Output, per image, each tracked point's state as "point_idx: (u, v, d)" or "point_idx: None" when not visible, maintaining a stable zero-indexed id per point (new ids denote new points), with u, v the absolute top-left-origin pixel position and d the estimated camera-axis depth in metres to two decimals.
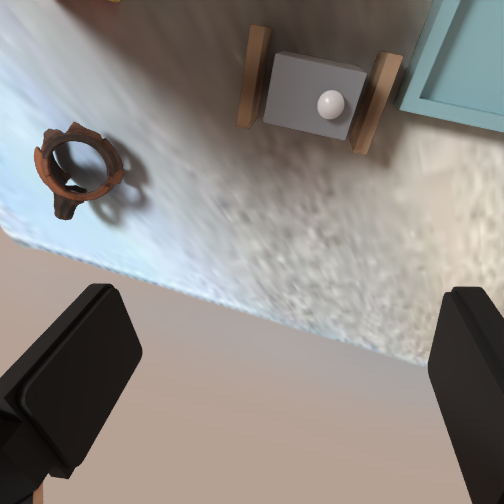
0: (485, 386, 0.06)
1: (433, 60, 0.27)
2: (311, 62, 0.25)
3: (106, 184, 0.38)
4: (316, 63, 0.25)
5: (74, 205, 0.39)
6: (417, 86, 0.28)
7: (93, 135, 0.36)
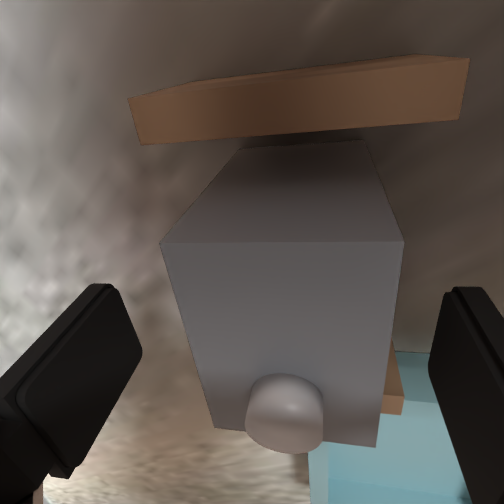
0: (485, 386, 0.06)
1: None
2: (386, 346, 0.08)
3: None
4: (385, 358, 0.08)
5: None
6: None
7: None
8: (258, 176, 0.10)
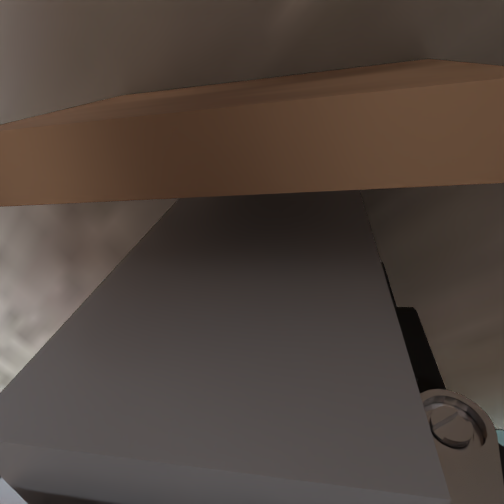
0: None
1: None
2: None
3: None
4: None
5: None
6: None
7: None
8: (199, 245, 0.07)
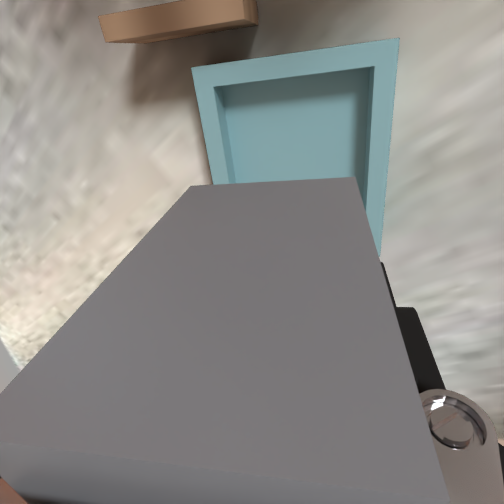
0: None
1: (258, 78, 0.20)
2: None
3: None
4: None
5: None
6: (225, 75, 0.20)
7: None
8: (199, 245, 0.07)
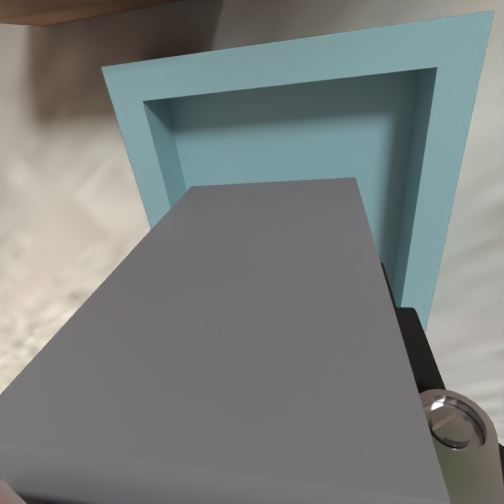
0: None
1: (220, 88, 0.11)
2: None
3: None
4: None
5: None
6: (161, 82, 0.11)
7: None
8: (199, 246, 0.07)
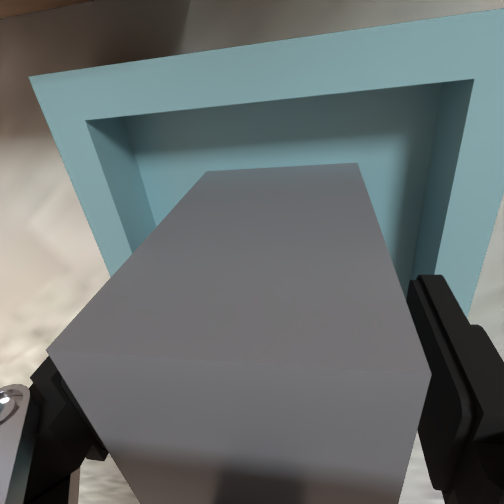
0: (436, 362, 0.07)
1: (183, 105, 0.08)
2: (395, 492, 0.05)
3: None
4: (393, 503, 0.05)
5: None
6: (106, 96, 0.09)
7: None
8: (221, 218, 0.08)
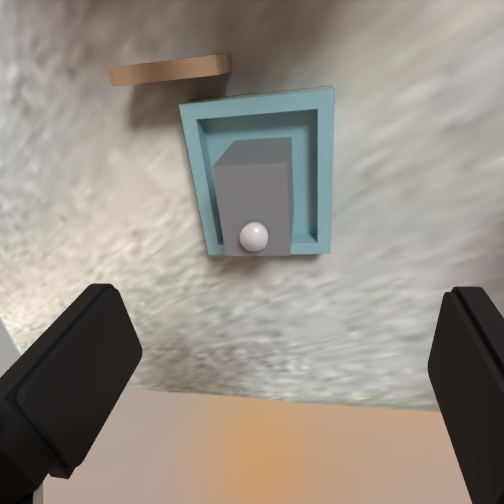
0: (485, 386, 0.06)
1: (231, 114, 0.26)
2: (287, 203, 0.23)
3: None
4: (287, 208, 0.23)
5: None
6: (205, 111, 0.26)
7: None
8: (244, 150, 0.25)
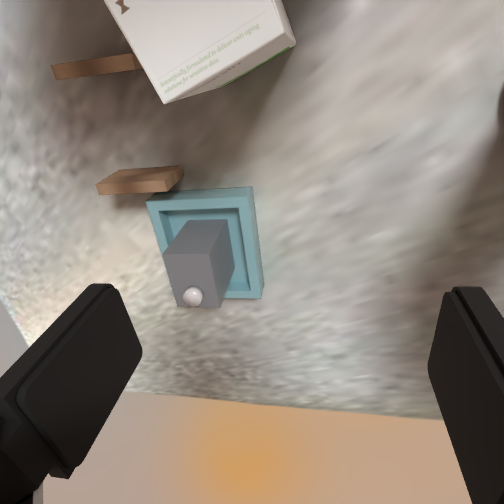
0: (485, 386, 0.06)
1: (181, 208, 0.37)
2: (212, 276, 0.34)
3: None
4: (213, 279, 0.34)
5: None
6: (163, 206, 0.37)
7: None
8: (189, 234, 0.37)
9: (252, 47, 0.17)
